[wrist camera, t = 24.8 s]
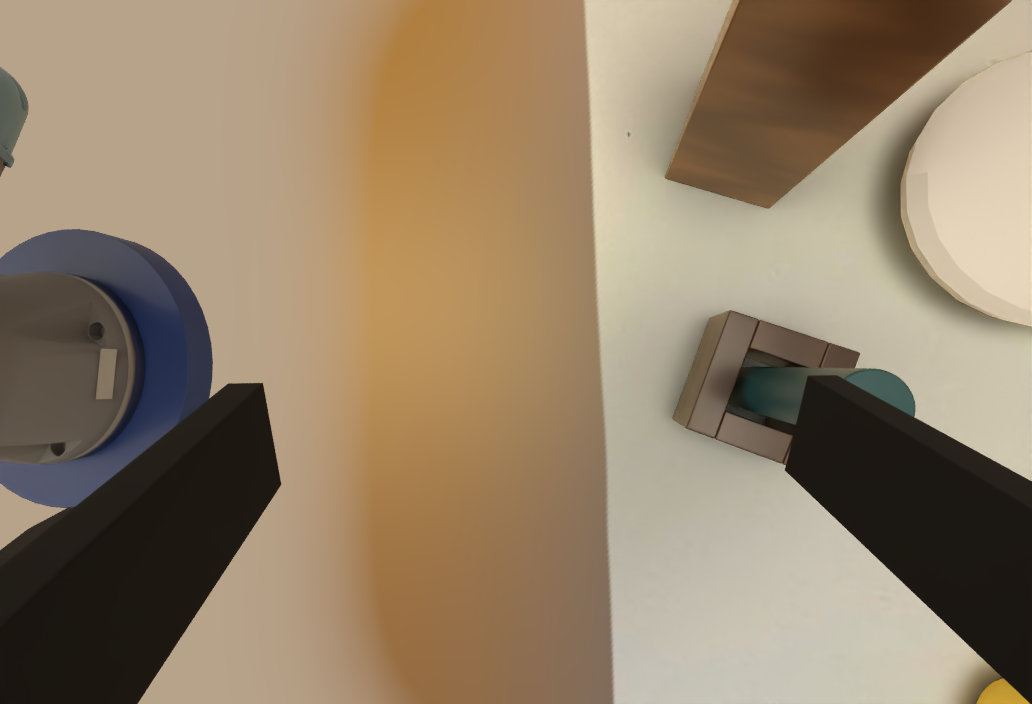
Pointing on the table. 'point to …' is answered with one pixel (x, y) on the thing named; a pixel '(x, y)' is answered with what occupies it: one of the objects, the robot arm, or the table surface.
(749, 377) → the dowel
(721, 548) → the table surface
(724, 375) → the socket block
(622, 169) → the table surface
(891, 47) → the pillar
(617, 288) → the table surface
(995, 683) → the teapot
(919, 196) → the vase
